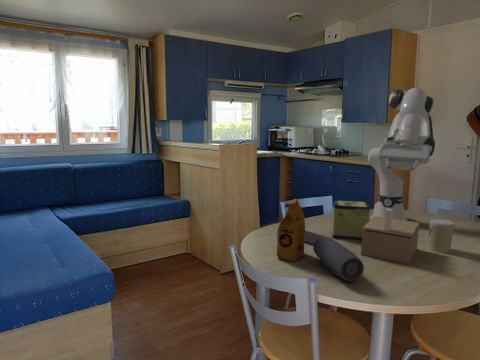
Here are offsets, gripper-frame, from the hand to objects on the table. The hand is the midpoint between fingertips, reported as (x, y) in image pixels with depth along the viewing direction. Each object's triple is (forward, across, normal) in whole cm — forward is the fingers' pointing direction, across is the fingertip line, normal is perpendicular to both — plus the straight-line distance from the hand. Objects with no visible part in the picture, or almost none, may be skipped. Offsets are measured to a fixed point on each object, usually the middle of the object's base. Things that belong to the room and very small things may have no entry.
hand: (400, 168), depth 160 cm
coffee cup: (+20, -17, -28) cm, 38 cm away
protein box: (+22, +20, -26) cm, 39 cm away
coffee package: (+50, +32, +2) cm, 59 cm away
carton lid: (+23, 0, -10) cm, 25 cm away
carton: (+30, 0, -17) cm, 35 cm away
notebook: (+32, +36, -16) cm, 51 cm away
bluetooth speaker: (+53, +12, +5) cm, 55 cm away
